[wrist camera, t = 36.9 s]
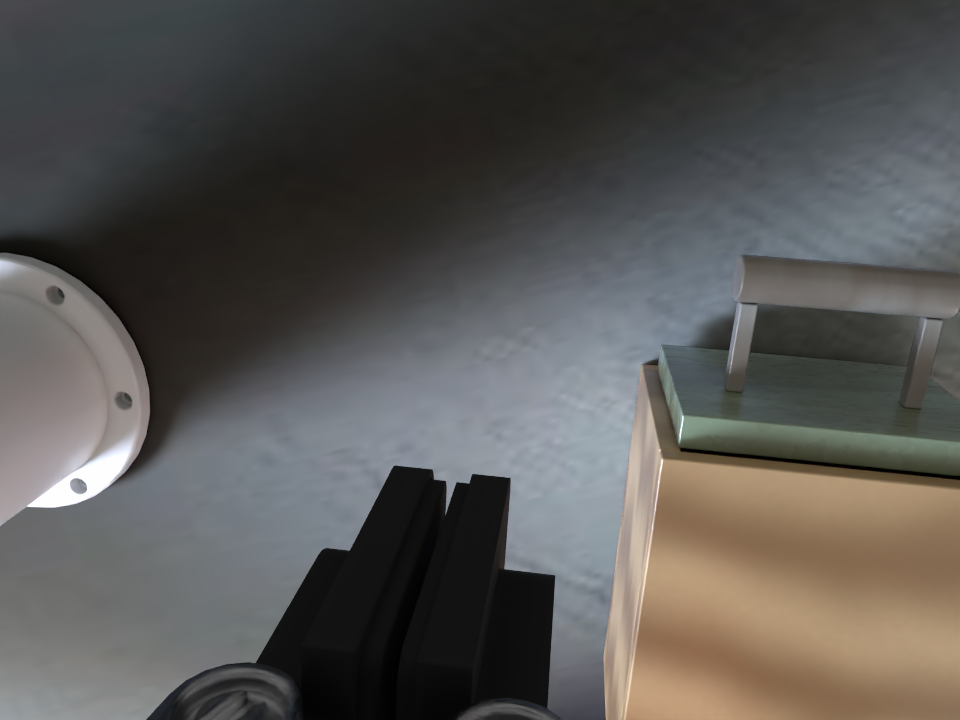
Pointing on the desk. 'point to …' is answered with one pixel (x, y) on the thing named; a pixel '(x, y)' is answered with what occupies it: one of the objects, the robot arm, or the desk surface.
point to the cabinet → (779, 587)
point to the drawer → (821, 375)
